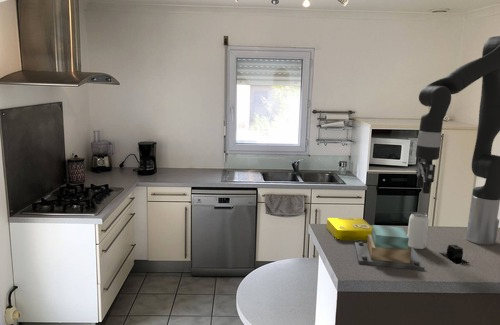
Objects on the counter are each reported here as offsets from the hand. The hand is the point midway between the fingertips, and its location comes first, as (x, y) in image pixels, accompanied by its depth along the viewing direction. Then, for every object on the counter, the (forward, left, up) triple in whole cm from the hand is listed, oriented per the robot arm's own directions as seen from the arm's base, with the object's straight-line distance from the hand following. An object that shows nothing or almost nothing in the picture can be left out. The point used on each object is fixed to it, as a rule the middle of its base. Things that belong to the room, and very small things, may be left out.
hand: (422, 190), depth 145 cm
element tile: (+23, -7, -22) cm, 32 cm away
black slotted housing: (-11, +8, -22) cm, 25 cm away
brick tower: (+12, +13, -21) cm, 27 cm away
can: (0, 0, -21) cm, 21 cm away
